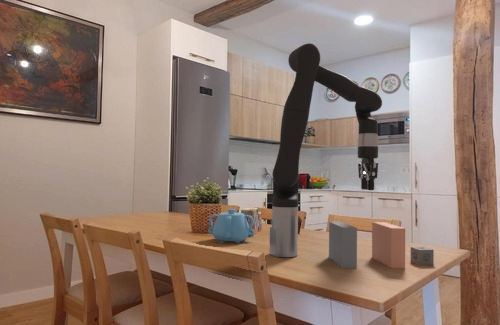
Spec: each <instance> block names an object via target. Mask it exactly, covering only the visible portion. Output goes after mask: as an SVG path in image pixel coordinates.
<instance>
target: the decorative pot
mask: <svg viewBox="0 0 500 325" xmlns="http://www.w3.org/2000/svg"><path fill="white" fill-rule="evenodd" d="M227 211H228V212H219V213H218V214H217V213H214V214H211V215H210V217H209V219H208V220H209V224H210V227H209V228H208V234H210V235H212V237H213V238H214V239H215V240H216V241H219V243H226V242H233V243H235V244H240V243H241V242H242V241H246V240H247V238H248V237H253V236H252V235H254V230H253V229H251V228H252V226H253V222H254V220H253V218H252V217H251V216H250V215H244V214H243V213H241V212H236V208H228V209H227ZM214 217H216V219H215V221H214V224H213V218H214ZM246 217H249V218H250V219H251V224H250V227H249V226H248V222H247V220H246ZM250 231H252V233H250ZM248 235H250V236H248ZM254 236H255V235H254Z"/></svg>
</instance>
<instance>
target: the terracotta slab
mask: <svg viewBox="0 0 500 325" xmlns="http://www.w3.org/2000/svg"><path fill="white" fill-rule="evenodd" d="M371 226H372V227H371V230H372V232H371V244H372V245H371V258H372V259H374V260H376V261H378V262H379V263H381V264H383V265H385V266H386V267H388V268H390V269H406V228H405V227H403V226H402V227H401V226H399V225H396V224H392V223H389V222H387V221H383V222H382V221H372V223H371Z"/></svg>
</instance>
